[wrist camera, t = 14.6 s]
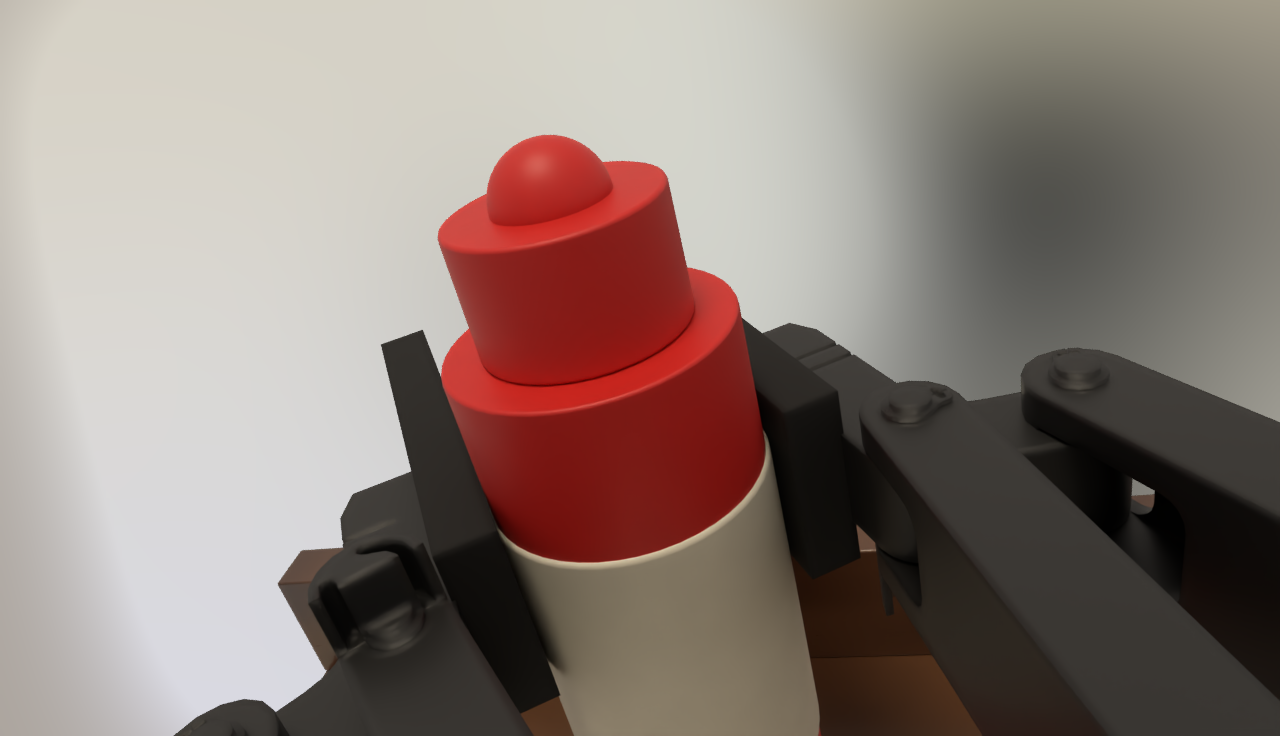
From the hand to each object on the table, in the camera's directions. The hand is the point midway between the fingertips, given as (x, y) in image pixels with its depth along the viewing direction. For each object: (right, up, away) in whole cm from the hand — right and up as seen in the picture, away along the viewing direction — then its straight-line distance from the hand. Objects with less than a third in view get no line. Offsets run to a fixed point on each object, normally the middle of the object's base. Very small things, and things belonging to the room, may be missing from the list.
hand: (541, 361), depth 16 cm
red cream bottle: (+3, -7, -2) cm, 8 cm away
